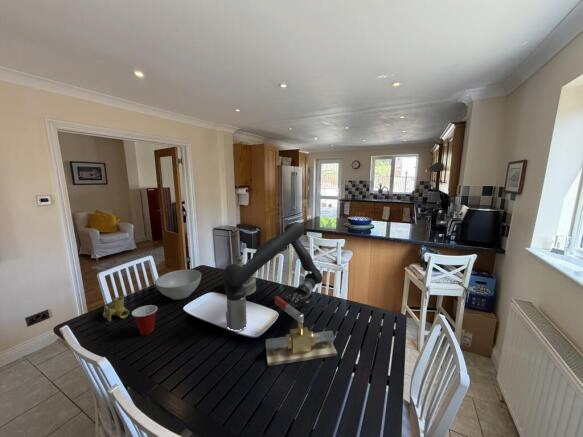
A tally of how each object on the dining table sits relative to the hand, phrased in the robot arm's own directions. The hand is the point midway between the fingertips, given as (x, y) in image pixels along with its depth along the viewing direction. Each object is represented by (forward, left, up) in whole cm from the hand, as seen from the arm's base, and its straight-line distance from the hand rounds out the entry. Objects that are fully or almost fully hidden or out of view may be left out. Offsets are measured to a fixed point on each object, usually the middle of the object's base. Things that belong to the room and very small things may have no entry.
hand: (290, 307), depth 109 cm
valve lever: (-1, -1, -2) cm, 2 cm away
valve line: (+5, -8, -14) cm, 17 cm away
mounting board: (+5, -8, -16) cm, 18 cm away
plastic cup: (-72, -1, -16) cm, 74 cm away
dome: (-37, +45, -16) cm, 60 cm away
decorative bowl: (-75, +35, -16) cm, 84 cm away
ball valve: (-98, +10, -16) cm, 100 cm away
